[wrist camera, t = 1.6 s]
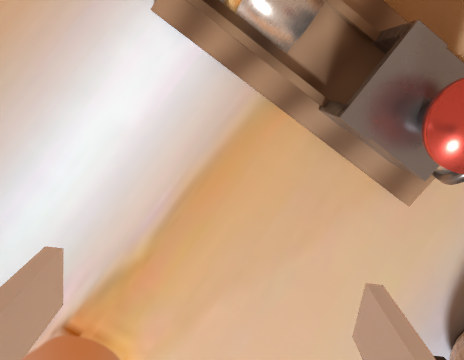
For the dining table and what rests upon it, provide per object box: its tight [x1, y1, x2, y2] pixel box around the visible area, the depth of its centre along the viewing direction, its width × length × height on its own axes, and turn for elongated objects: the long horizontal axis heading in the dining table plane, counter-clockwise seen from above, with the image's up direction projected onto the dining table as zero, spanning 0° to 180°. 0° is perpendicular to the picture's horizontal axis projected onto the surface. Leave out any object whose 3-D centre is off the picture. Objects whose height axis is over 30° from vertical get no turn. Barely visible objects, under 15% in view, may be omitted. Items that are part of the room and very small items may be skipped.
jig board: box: [151, 0, 436, 206], centre depth 35 cm, size 32×13×2 cm, turn 54°
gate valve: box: [319, 20, 464, 185], centre depth 30 cm, size 13×9×13 cm, turn 54°
